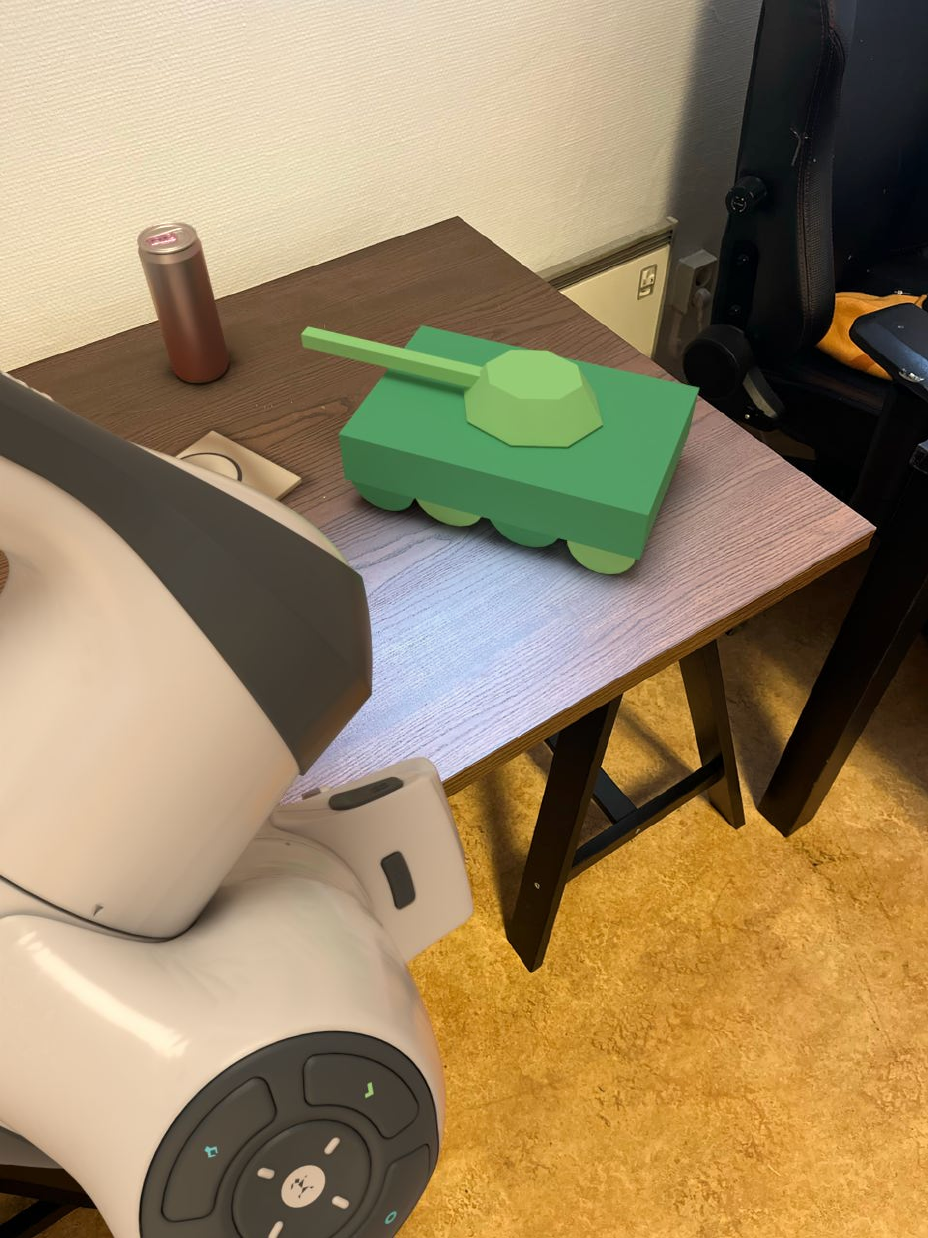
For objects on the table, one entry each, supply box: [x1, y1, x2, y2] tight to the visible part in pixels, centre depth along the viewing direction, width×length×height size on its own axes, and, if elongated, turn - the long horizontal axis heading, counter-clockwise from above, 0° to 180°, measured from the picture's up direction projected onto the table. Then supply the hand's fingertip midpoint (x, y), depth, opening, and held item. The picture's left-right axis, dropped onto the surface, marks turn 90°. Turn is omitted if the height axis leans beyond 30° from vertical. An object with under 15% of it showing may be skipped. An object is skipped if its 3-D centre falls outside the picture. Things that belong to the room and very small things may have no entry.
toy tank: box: [300, 324, 700, 575], centre depth 85 cm, size 18×12×35 cm
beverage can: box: [136, 221, 230, 384], centre depth 95 cm, size 6×6×15 cm
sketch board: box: [175, 430, 303, 502], centre depth 87 cm, size 16×12×1 cm
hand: (233, 836), depth 49 cm, fingers open, 8 cm apart
